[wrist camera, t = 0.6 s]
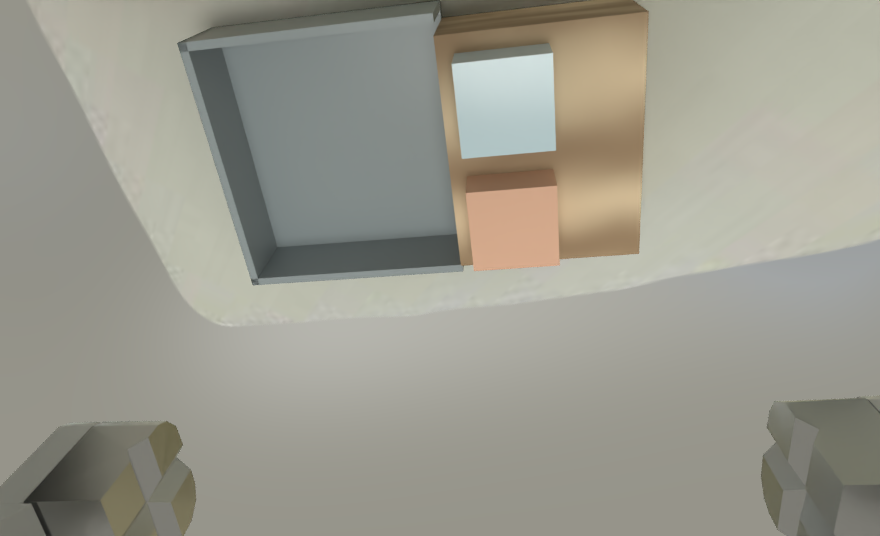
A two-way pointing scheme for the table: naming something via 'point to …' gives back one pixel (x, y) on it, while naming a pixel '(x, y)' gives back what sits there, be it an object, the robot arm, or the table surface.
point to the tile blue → (505, 100)
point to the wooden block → (566, 116)
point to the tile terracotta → (513, 219)
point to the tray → (330, 142)
